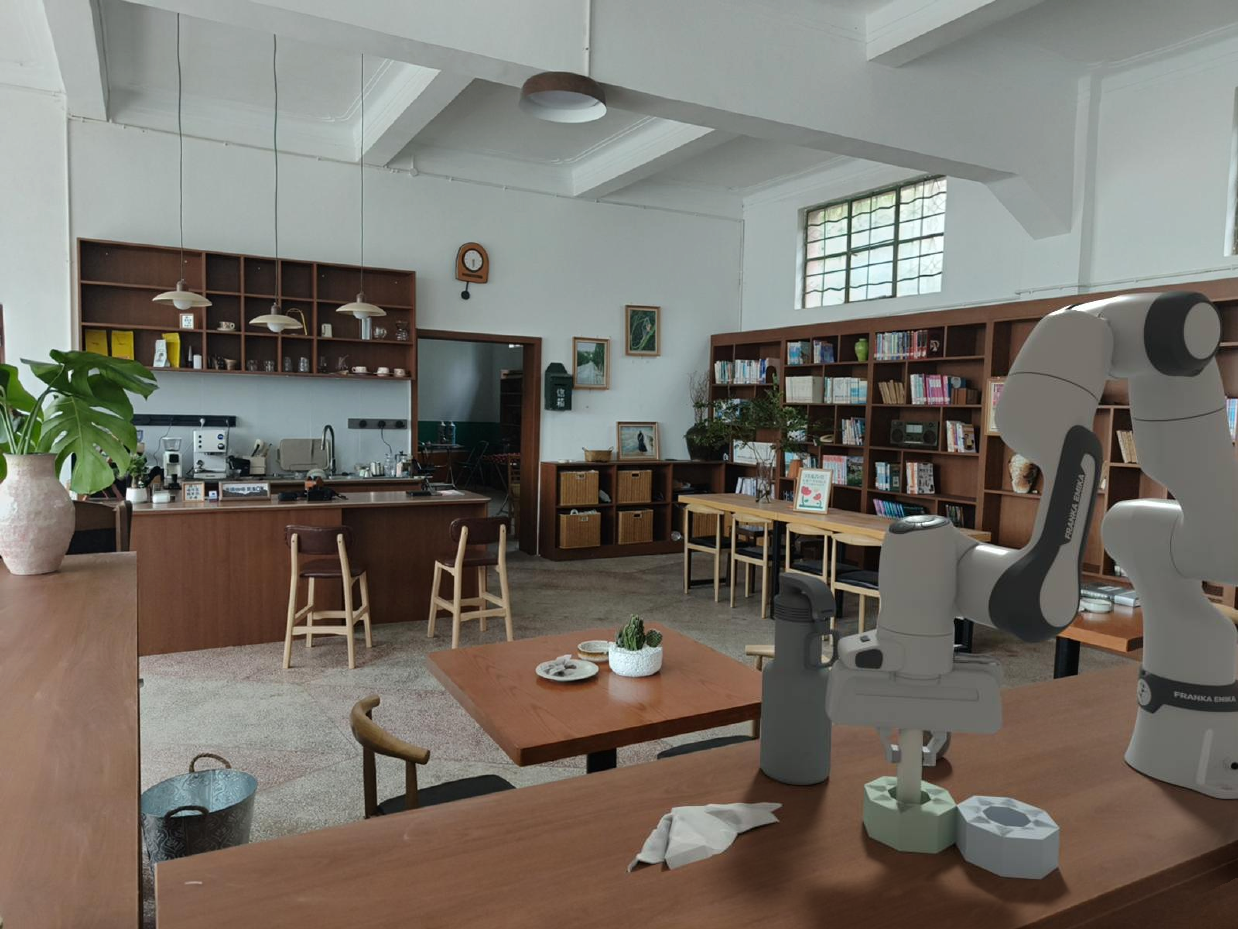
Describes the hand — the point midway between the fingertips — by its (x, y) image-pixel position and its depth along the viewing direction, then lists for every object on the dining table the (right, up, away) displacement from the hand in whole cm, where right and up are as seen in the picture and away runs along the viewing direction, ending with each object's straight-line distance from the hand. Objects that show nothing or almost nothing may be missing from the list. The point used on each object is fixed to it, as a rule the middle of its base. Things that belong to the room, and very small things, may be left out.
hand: (909, 762), depth 100 cm
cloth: (-25, -9, 0) cm, 26 cm away
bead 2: (+10, -9, -5) cm, 14 cm away
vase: (+11, -8, +24) cm, 27 cm away
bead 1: (0, -9, +1) cm, 9 cm away
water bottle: (-10, -8, +17) cm, 21 cm away
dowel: (0, -5, 0) cm, 5 cm away
